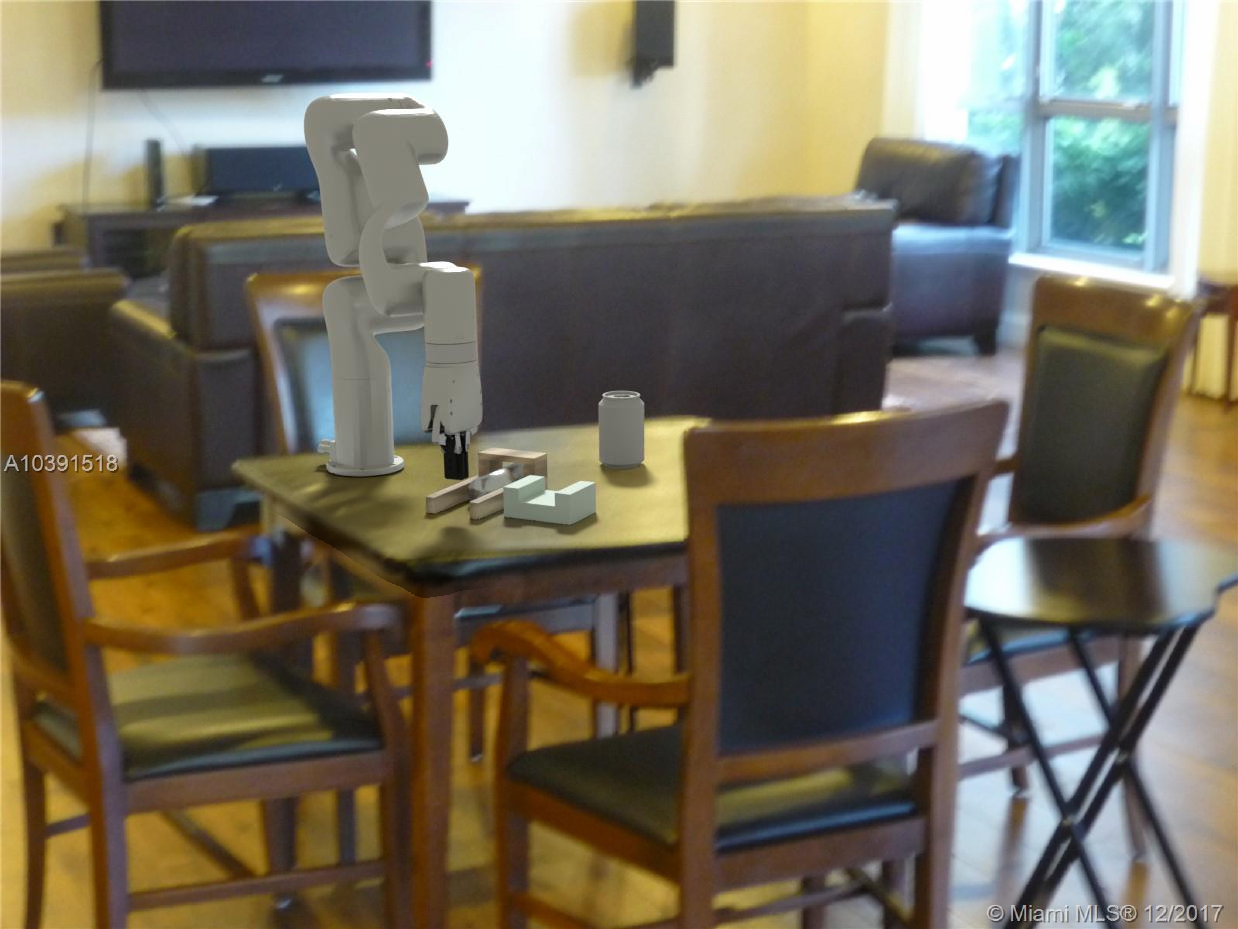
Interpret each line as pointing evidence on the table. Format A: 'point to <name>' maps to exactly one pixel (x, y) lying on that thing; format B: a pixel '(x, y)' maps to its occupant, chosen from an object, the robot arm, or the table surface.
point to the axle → (495, 480)
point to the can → (621, 430)
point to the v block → (549, 501)
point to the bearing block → (486, 464)
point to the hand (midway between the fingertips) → (456, 478)
